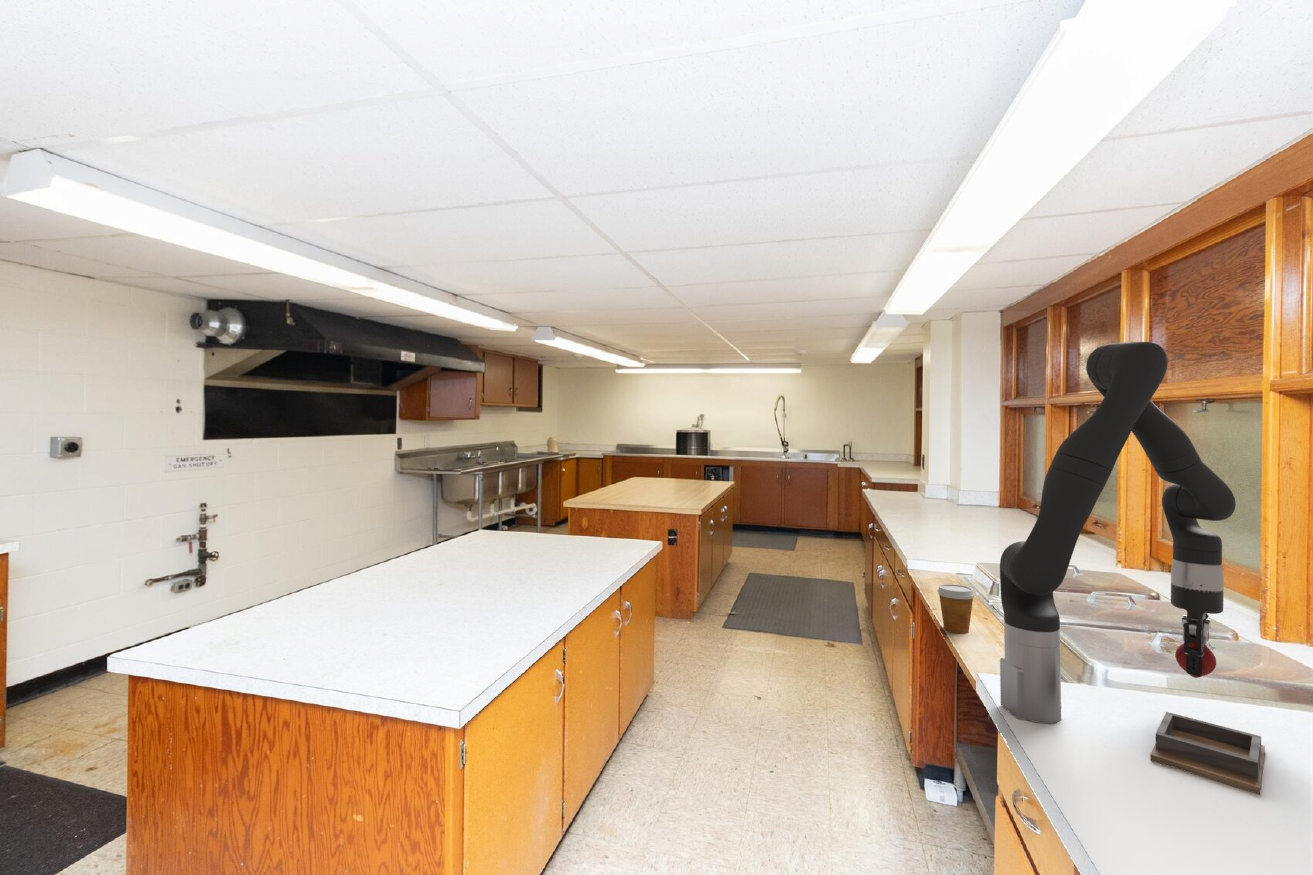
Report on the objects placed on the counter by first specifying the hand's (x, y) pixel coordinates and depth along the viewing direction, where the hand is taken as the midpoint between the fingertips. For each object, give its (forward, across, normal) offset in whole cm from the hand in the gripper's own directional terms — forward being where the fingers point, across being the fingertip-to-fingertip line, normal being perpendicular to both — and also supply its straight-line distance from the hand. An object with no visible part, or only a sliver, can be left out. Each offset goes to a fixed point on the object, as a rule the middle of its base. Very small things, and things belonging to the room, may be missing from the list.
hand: (1195, 670), depth 112 cm
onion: (+2, 0, 0) cm, 2 cm away
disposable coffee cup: (+10, +20, +51) cm, 56 cm away
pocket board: (+9, -19, -3) cm, 21 cm away
